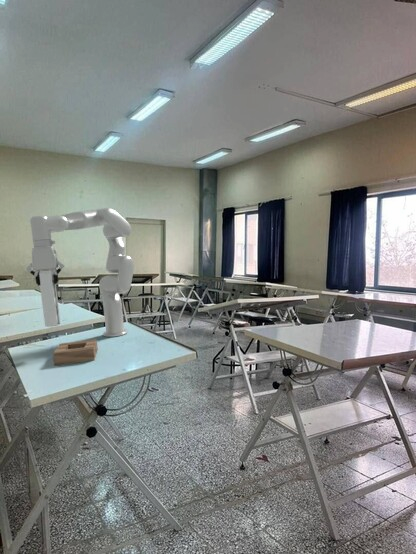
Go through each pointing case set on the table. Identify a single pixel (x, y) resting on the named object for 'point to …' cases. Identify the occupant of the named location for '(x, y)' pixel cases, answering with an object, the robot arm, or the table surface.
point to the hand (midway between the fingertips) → (47, 284)
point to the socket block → (75, 352)
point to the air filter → (49, 298)
